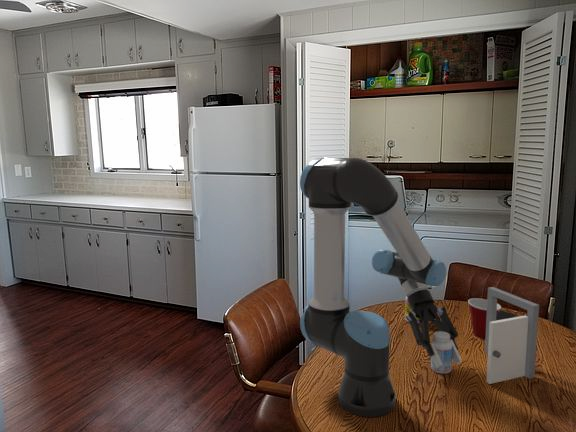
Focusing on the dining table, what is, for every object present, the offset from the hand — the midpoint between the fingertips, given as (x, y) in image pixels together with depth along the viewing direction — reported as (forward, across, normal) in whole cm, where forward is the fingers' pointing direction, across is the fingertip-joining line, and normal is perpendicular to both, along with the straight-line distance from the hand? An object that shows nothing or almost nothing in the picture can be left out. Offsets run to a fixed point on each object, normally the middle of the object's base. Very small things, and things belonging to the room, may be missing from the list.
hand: (449, 364), depth 131 cm
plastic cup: (-11, -29, -16) cm, 35 cm away
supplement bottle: (-25, -14, -30) cm, 41 cm away
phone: (-17, -45, -23) cm, 53 cm away
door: (+8, -13, +4) cm, 16 cm away
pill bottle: (0, 0, -5) cm, 5 cm away
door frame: (+3, -21, -2) cm, 21 cm away
